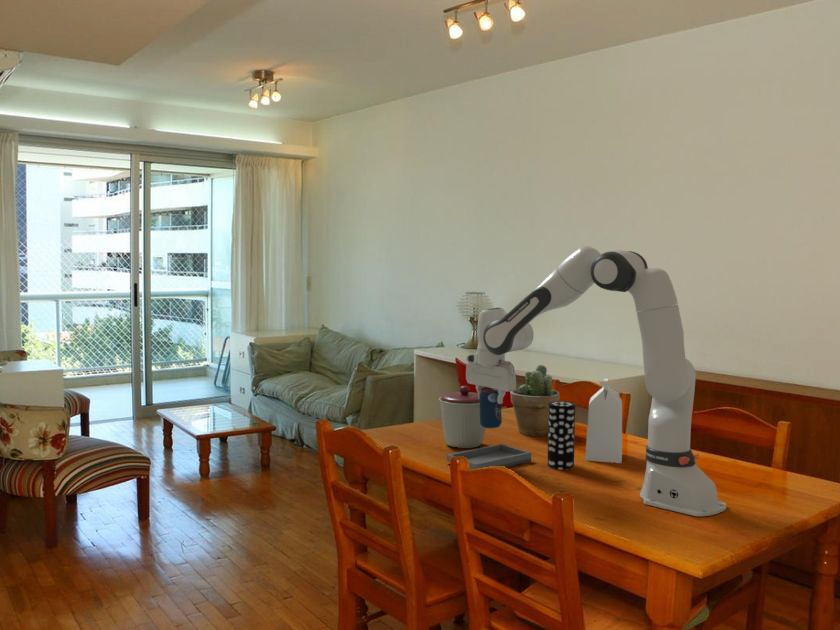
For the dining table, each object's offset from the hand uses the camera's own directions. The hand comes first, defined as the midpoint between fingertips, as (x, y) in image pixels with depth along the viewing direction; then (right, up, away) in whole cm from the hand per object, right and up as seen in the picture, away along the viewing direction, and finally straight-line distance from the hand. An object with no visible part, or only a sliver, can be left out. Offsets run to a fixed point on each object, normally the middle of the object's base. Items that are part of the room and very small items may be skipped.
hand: (490, 401), depth 237 cm
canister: (-7, -18, +24) cm, 31 cm away
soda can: (0, -8, +1) cm, 8 cm away
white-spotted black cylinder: (+22, -21, -2) cm, 30 cm away
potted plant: (+21, -17, +44) cm, 51 cm away
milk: (+39, -20, +10) cm, 45 cm away
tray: (0, -20, +2) cm, 20 cm away
